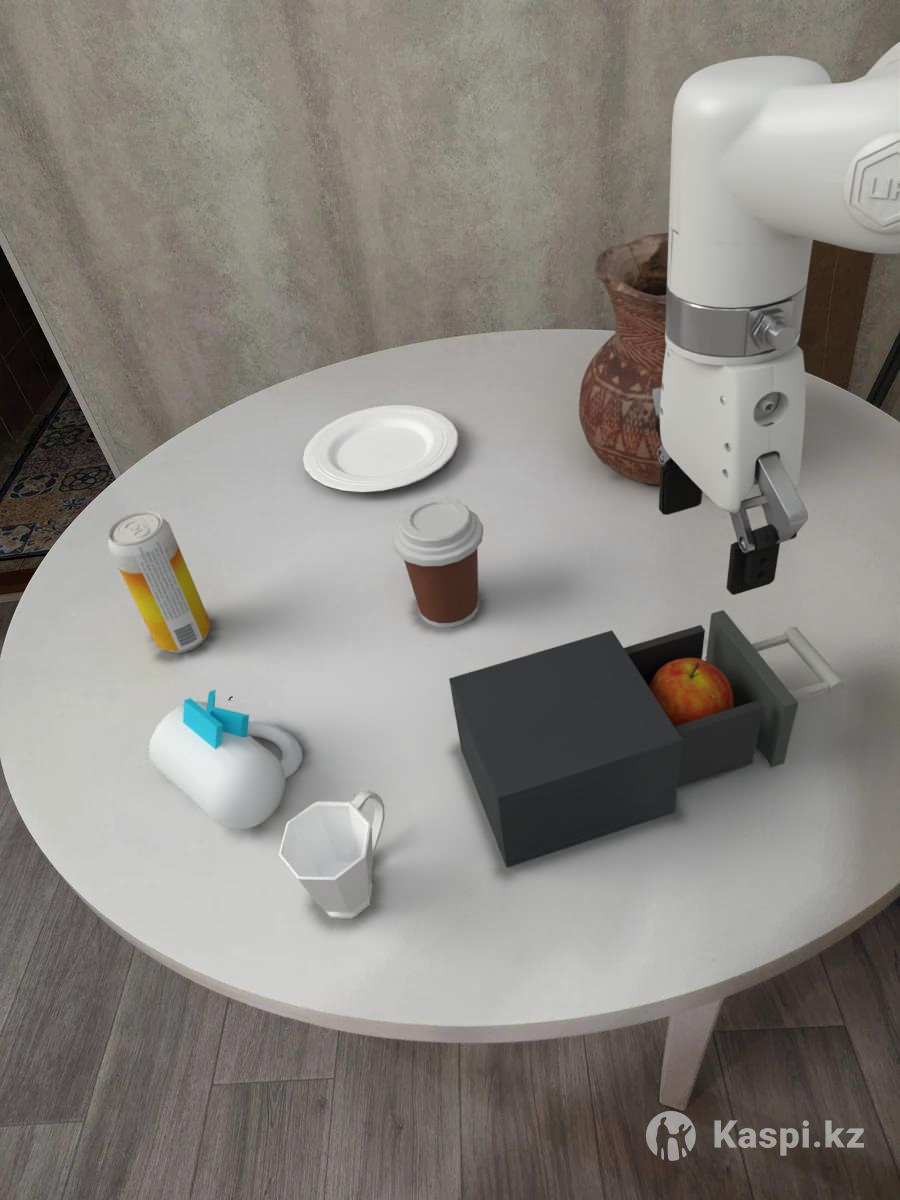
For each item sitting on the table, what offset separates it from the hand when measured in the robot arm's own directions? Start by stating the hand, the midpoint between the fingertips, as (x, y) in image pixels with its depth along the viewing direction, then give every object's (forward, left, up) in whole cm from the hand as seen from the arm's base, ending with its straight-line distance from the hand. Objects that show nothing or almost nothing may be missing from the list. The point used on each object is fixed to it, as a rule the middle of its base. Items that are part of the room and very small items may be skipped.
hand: (712, 545), depth 61 cm
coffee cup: (+15, -25, -22) cm, 37 cm away
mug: (+38, -10, -22) cm, 45 cm away
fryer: (+12, 0, -22) cm, 25 cm away
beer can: (+43, -32, -22) cm, 58 cm away
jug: (-18, -41, -22) cm, 50 cm away
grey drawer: (-2, 0, -21) cm, 21 cm away
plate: (+15, -57, -22) cm, 63 cm away
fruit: (0, 0, -20) cm, 20 cm away
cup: (+31, +3, -22) cm, 38 cm away
